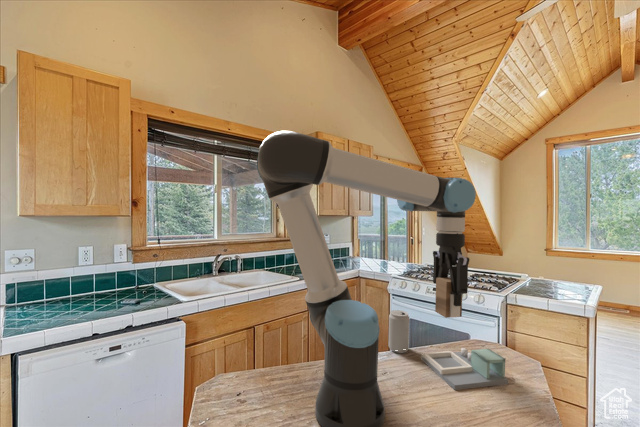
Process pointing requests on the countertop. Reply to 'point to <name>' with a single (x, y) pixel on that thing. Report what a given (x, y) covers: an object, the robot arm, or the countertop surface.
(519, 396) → the countertop surface
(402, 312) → the beverage can
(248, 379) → the countertop surface
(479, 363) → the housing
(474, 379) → the jig board
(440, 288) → the block
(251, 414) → the countertop surface
